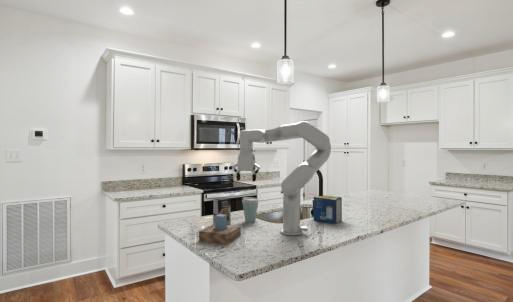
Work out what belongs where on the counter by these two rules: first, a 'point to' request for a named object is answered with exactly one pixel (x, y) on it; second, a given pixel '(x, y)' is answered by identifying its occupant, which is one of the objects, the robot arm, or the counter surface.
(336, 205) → the protein box
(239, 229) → the socket block
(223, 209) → the coffee box
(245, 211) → the disposable coffee cup
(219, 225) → the peg
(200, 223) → the counter surface
